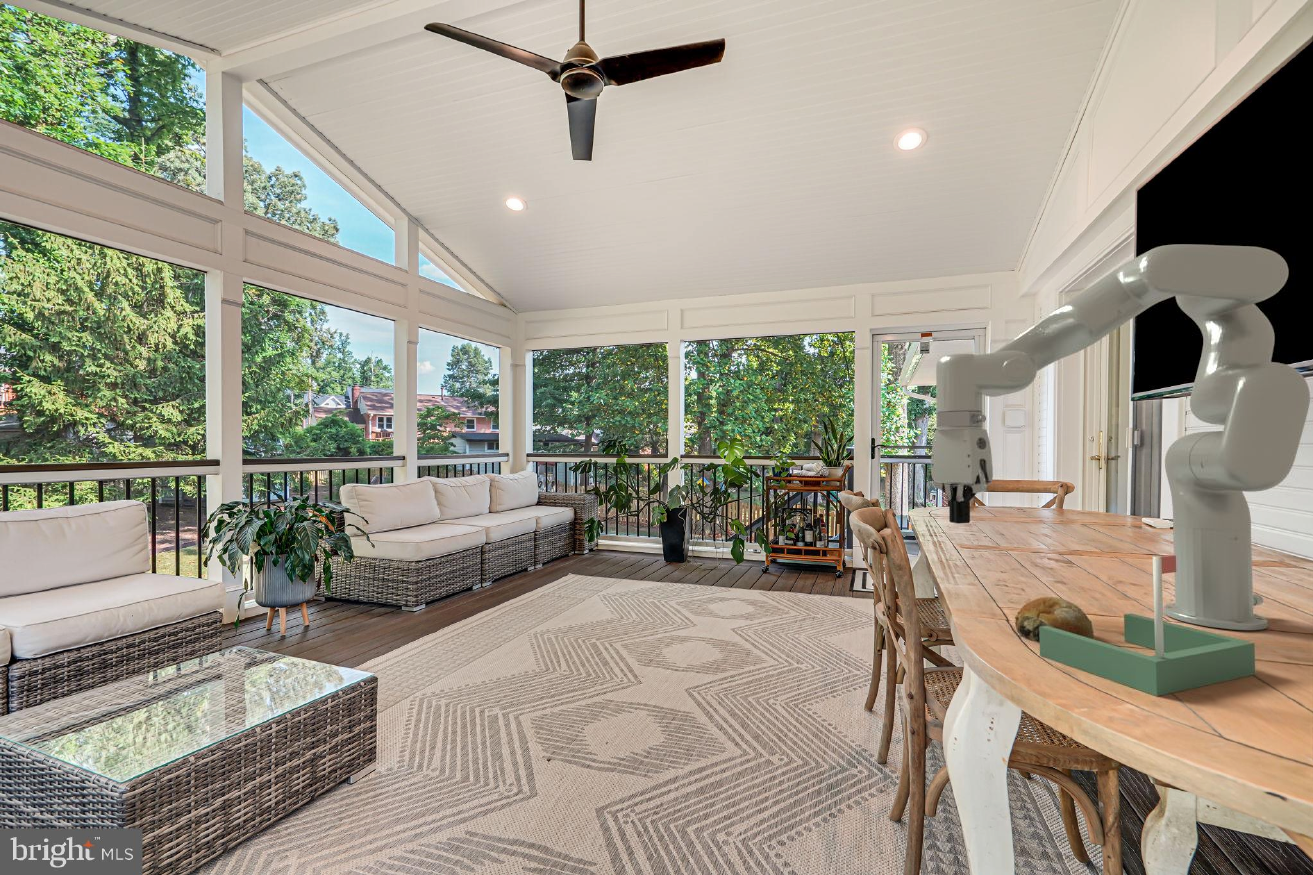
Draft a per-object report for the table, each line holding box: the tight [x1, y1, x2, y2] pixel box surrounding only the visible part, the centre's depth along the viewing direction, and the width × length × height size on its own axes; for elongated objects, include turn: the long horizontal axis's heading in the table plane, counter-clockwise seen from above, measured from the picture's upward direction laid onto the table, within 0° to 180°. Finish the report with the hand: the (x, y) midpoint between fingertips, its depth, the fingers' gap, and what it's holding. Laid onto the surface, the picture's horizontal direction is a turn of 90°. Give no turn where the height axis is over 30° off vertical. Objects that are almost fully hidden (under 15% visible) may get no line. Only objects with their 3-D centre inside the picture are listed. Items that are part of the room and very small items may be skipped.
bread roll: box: [1014, 596, 1096, 643], centre depth 90 cm, size 10×10×8 cm
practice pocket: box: [1039, 554, 1256, 697], centre depth 79 cm, size 19×14×16 cm
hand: (959, 522), depth 107 cm, fingers closed
